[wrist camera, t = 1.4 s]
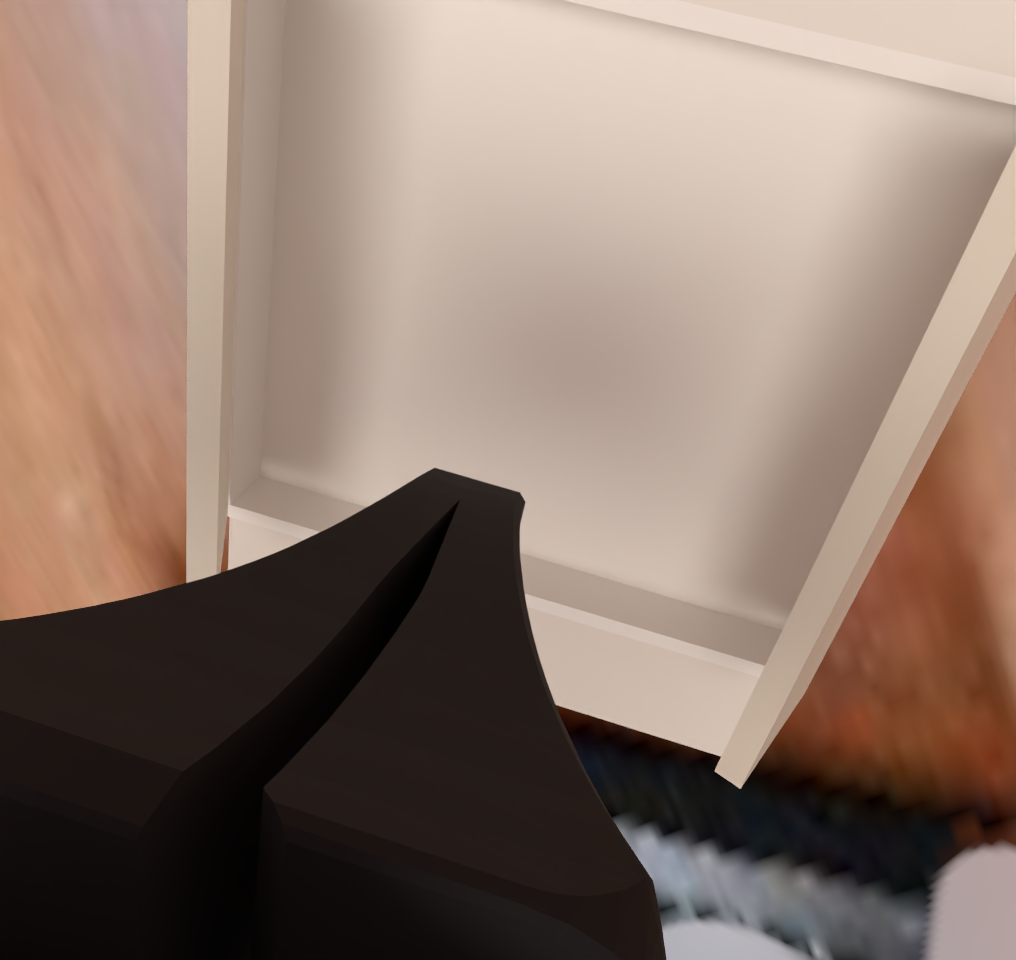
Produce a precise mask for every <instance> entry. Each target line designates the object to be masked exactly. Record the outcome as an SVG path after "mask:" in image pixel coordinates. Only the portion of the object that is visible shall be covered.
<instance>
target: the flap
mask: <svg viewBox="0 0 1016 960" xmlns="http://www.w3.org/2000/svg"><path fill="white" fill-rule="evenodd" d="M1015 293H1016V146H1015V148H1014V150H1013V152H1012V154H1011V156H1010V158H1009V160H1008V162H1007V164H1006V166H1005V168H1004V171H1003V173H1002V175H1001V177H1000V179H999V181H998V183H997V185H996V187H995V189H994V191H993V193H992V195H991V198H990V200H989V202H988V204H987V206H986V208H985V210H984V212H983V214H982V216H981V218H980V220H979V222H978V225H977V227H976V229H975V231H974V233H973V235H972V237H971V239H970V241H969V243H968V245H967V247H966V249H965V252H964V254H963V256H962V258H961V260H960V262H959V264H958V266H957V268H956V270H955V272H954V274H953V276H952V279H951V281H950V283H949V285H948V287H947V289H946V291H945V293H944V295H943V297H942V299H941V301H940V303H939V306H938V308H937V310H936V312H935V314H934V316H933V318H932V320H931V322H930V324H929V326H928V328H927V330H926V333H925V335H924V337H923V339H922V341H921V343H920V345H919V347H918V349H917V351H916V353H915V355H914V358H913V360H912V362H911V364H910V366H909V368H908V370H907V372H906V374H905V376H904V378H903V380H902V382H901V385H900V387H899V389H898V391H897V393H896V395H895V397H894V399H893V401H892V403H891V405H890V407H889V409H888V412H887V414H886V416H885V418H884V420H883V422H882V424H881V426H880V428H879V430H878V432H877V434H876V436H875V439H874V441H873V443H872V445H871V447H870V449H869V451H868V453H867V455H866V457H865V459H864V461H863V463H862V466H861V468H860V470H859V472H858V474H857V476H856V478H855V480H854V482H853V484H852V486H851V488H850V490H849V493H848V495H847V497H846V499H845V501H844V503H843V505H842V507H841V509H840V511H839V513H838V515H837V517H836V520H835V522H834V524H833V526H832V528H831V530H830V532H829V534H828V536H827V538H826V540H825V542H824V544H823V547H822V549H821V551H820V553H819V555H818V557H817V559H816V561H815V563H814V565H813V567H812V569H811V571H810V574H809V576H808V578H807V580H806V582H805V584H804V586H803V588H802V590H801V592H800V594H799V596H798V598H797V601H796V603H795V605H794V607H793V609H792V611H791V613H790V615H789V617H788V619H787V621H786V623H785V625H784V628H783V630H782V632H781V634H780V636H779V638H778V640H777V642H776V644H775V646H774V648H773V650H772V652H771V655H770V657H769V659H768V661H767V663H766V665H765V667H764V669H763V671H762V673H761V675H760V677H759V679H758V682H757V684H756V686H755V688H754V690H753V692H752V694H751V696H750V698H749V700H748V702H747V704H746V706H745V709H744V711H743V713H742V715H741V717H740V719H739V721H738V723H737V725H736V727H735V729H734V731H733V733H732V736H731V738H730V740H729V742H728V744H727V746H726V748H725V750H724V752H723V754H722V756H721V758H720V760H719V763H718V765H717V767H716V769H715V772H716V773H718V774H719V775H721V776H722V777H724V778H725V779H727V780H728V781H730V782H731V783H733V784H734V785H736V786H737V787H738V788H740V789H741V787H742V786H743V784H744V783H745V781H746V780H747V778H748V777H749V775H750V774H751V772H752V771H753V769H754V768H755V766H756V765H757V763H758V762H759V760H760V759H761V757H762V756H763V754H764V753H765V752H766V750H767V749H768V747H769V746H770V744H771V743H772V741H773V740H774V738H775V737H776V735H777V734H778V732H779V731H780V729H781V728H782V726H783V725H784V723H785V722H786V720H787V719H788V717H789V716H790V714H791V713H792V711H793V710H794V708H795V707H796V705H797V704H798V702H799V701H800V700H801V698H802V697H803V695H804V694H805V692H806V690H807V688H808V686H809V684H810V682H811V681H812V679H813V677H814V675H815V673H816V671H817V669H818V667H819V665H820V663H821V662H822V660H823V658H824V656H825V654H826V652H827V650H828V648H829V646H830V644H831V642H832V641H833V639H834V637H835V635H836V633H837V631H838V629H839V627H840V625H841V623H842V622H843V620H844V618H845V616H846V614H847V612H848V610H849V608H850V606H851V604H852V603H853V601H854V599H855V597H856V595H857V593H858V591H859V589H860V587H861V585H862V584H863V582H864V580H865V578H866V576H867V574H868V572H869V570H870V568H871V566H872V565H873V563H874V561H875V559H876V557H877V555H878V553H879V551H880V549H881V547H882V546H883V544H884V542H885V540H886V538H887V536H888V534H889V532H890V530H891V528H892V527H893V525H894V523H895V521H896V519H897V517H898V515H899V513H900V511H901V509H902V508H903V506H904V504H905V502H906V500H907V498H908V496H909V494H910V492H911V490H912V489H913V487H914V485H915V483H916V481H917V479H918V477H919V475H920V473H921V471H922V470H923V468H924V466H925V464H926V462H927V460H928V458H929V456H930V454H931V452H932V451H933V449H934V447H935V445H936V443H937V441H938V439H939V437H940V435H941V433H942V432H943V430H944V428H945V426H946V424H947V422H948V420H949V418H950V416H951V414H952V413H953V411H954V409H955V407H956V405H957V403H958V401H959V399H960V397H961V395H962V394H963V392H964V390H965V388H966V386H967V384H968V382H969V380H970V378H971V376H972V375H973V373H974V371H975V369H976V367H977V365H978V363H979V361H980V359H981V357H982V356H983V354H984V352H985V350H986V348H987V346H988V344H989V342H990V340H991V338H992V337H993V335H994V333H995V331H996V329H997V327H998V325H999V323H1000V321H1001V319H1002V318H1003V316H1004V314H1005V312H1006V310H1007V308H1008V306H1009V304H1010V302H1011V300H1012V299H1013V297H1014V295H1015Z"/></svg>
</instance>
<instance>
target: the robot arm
mask: <svg viewBox="0 0 1016 960" xmlns="http://www.w3.org/2000/svg"><path fill="white" fill-rule="evenodd" d="M525 503H526V502H525V500H524V498H523V497H522V495H521V493H520V492H517V491H513V490H510V489H507V488H503V487H500V486H496V485H493V484H489V483H486V482H482V481H479V480H476V479H472V478H469V477H465V476H462V475H458V474H455V473H451V472H448V471H444V470H441V469H438V468H433V469H431V470H429V471H427V472H426V473H424V474H422V475H420V476H419V477H417V478H415V479H414V480H412V481H410V482H409V483H407V484H405V485H404V486H402V487H400V488H399V489H397V490H395V491H394V492H392V493H390V494H389V495H387V496H385V497H384V498H382V499H380V500H379V501H377V502H375V503H373V504H372V505H370V506H368V507H366V508H364V509H363V510H361V511H359V512H357V513H355V514H354V515H352V516H350V517H348V518H346V519H345V520H343V521H341V522H339V523H337V524H335V525H333V526H332V527H330V528H328V529H326V530H323V531H321V532H319V533H317V534H315V535H313V536H311V537H309V538H307V539H305V540H303V541H301V542H298V543H296V544H294V545H292V546H290V547H288V548H285V549H283V550H281V551H278V552H276V553H273V554H271V555H268V556H266V557H263V558H261V559H258V560H256V561H253V562H250V563H247V564H244V565H242V566H239V567H236V568H233V569H230V570H228V571H225V572H222V573H219V574H216V575H213V576H210V577H206V578H203V579H199V580H195V581H192V582H188V583H185V584H181V585H177V586H174V587H170V588H166V589H163V590H159V591H156V592H152V593H148V594H145V595H141V596H137V597H133V598H128V599H124V600H119V601H114V602H110V603H105V604H100V605H96V606H91V607H85V608H80V609H74V610H69V611H63V612H58V613H52V614H46V615H40V616H33V617H27V618H20V619H13V620H4V621H0V960H666V954H665V947H664V940H663V932H662V926H661V921H660V915H659V909H658V904H657V898H656V893H655V888H654V884H653V880H652V879H651V877H650V876H649V874H648V873H647V871H646V870H645V868H644V867H643V865H642V864H641V862H640V861H639V859H638V858H637V856H636V855H635V853H634V852H633V850H632V849H631V847H630V846H629V844H628V843H627V841H626V840H625V838H624V837H623V835H622V834H621V832H620V831H619V829H618V827H617V826H616V824H615V823H614V821H613V819H612V818H611V816H610V814H609V813H608V811H607V809H606V807H605V806H604V804H603V802H602V800H601V798H600V797H599V795H598V793H597V791H596V789H595V788H594V786H593V784H592V782H591V780H590V778H589V777H588V775H587V773H586V771H585V769H584V767H583V765H582V762H581V760H580V758H579V756H578V754H577V752H576V750H575V747H574V745H573V743H572V741H571V739H570V737H569V734H568V732H567V730H566V728H565V726H564V724H563V722H562V719H561V717H560V715H559V713H558V710H557V707H556V705H555V702H554V699H553V697H552V694H551V691H550V689H549V686H548V683H547V680H546V677H545V674H544V671H543V668H542V665H541V662H540V659H539V655H538V652H537V648H536V644H535V641H534V637H533V633H532V628H531V624H530V619H529V614H528V609H527V605H526V599H525V593H524V586H523V577H522V569H521V560H520V523H521V519H522V515H523V511H524V507H525Z"/></svg>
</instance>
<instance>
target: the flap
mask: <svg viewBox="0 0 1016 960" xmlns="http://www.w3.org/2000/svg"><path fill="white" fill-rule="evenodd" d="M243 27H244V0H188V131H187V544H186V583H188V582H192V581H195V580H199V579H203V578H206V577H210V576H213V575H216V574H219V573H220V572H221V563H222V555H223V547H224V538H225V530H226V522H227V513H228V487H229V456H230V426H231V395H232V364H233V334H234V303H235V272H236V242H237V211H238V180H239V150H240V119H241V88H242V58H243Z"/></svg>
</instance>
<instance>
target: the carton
mask: <svg viewBox="0 0 1016 960" xmlns="http://www.w3.org/2000/svg"><path fill="white" fill-rule="evenodd" d="M1015 146H1016V0H244V27H243V58H242V88H241V119H240V150H239V180H238V211H237V242H236V272H235V303H234V334H233V364H232V395H231V426H230V456H229V487H228V513H227V516H228V517H230V527H229V556H228V570H230V569H233V568H236V567H239V566H242V565H244V564H247V563H250V562H253V561H256V560H258V559H261V558H263V557H266V556H268V555H271V554H273V553H276V552H278V551H281V550H283V549H285V548H288V547H290V546H292V545H294V544H296V543H298V542H301V541H303V540H305V539H307V538H309V537H311V536H313V535H315V534H317V533H319V532H321V531H323V530H326V529H328V528H330V527H332V526H333V525H335V524H337V523H339V522H341V521H343V520H345V519H346V518H348V517H350V516H352V515H354V514H355V513H357V512H359V511H361V510H363V509H364V508H366V507H368V506H370V505H372V504H373V503H375V502H377V501H379V500H380V499H382V498H384V497H385V496H387V495H389V494H390V493H392V492H394V491H395V490H397V489H399V488H400V487H402V486H404V485H405V484H407V483H409V482H410V481H412V480H414V479H415V478H417V477H419V476H420V475H422V474H424V473H426V472H427V471H429V470H431V469H433V468H438V469H441V470H444V471H448V472H451V473H455V474H458V475H462V476H465V477H469V478H472V479H476V480H479V481H482V482H486V483H489V484H493V485H496V486H500V487H503V488H507V489H510V490H513V491H517V492H520V493H521V495H522V497H523V498H524V500H525V502H526V503H525V507H524V511H523V515H522V519H521V523H520V560H521V569H522V577H523V586H524V593H525V599H526V605H527V609H528V614H529V619H530V624H531V628H532V633H533V637H534V641H535V644H536V648H537V652H538V655H539V659H540V662H541V665H542V668H543V671H544V674H545V677H546V680H547V683H548V686H549V689H550V691H551V694H552V697H553V699H554V702H555V705H558V706H561V707H564V708H568V709H571V710H574V711H577V712H580V713H584V714H587V715H590V716H593V717H596V718H600V719H603V720H606V721H609V722H612V723H616V724H619V725H622V726H625V727H628V728H632V729H635V730H638V731H641V732H644V733H648V734H651V735H654V736H657V737H660V738H664V739H667V740H670V741H673V742H676V743H680V744H683V745H686V746H689V747H692V748H696V749H699V750H702V751H705V752H708V753H712V754H715V755H718V756H722V754H723V752H724V750H725V748H726V746H727V744H728V742H729V740H730V738H731V736H732V733H733V731H734V729H735V727H736V725H737V723H738V721H739V719H740V717H741V715H742V713H743V711H744V709H745V706H746V704H747V702H748V700H749V698H750V696H751V694H752V692H753V690H754V688H755V686H756V684H757V682H758V679H759V677H760V675H761V673H762V671H763V669H764V667H765V665H766V663H767V661H768V659H769V657H770V655H771V652H772V650H773V648H774V646H775V644H776V642H777V640H778V638H779V636H780V634H781V632H782V630H783V628H784V625H785V623H786V621H787V619H788V617H789V615H790V613H791V611H792V609H793V607H794V605H795V603H796V601H797V598H798V596H799V594H800V592H801V590H802V588H803V586H804V584H805V582H806V580H807V578H808V576H809V574H810V571H811V569H812V567H813V565H814V563H815V561H816V559H817V557H818V555H819V553H820V551H821V549H822V547H823V544H824V542H825V540H826V538H827V536H828V534H829V532H830V530H831V528H832V526H833V524H834V522H835V520H836V517H837V515H838V513H839V511H840V509H841V507H842V505H843V503H844V501H845V499H846V497H847V495H848V493H849V490H850V488H851V486H852V484H853V482H854V480H855V478H856V476H857V474H858V472H859V470H860V468H861V466H862V463H863V461H864V459H865V457H866V455H867V453H868V451H869V449H870V447H871V445H872V443H873V441H874V439H875V436H876V434H877V432H878V430H879V428H880V426H881V424H882V422H883V420H884V418H885V416H886V414H887V412H888V409H889V407H890V405H891V403H892V401H893V399H894V397H895V395H896V393H897V391H898V389H899V387H900V385H901V382H902V380H903V378H904V376H905V374H906V372H907V370H908V368H909V366H910V364H911V362H912V360H913V358H914V355H915V353H916V351H917V349H918V347H919V345H920V343H921V341H922V339H923V337H924V335H925V333H926V330H927V328H928V326H929V324H930V322H931V320H932V318H933V316H934V314H935V312H936V310H937V308H938V306H939V303H940V301H941V299H942V297H943V295H944V293H945V291H946V289H947V287H948V285H949V283H950V281H951V279H952V276H953V274H954V272H955V270H956V268H957V266H958V264H959V262H960V260H961V258H962V256H963V254H964V252H965V249H966V247H967V245H968V243H969V241H970V239H971V237H972V235H973V233H974V231H975V229H976V227H977V225H978V222H979V220H980V218H981V216H982V214H983V212H984V210H985V208H986V206H987V204H988V202H989V200H990V198H991V195H992V193H993V191H994V189H995V187H996V185H997V183H998V181H999V179H1000V177H1001V175H1002V173H1003V171H1004V168H1005V166H1006V164H1007V162H1008V160H1009V158H1010V156H1011V154H1012V152H1013V150H1014V148H1015Z"/></svg>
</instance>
